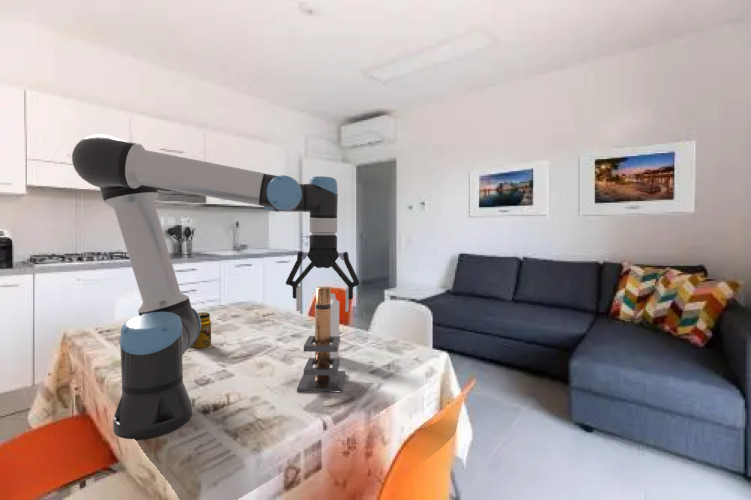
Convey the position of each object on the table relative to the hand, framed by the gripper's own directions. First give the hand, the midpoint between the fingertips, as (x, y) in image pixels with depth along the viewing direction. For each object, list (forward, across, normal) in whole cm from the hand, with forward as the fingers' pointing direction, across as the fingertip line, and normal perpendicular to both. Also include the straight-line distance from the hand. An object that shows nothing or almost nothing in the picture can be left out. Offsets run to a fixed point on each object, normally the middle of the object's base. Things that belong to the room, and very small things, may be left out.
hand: (322, 310), depth 103 cm
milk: (+21, +1, -19) cm, 28 cm away
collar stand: (+21, 0, 0) cm, 21 cm away
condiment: (+21, +48, -29) cm, 60 cm away
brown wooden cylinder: (+20, 0, 0) cm, 20 cm away
